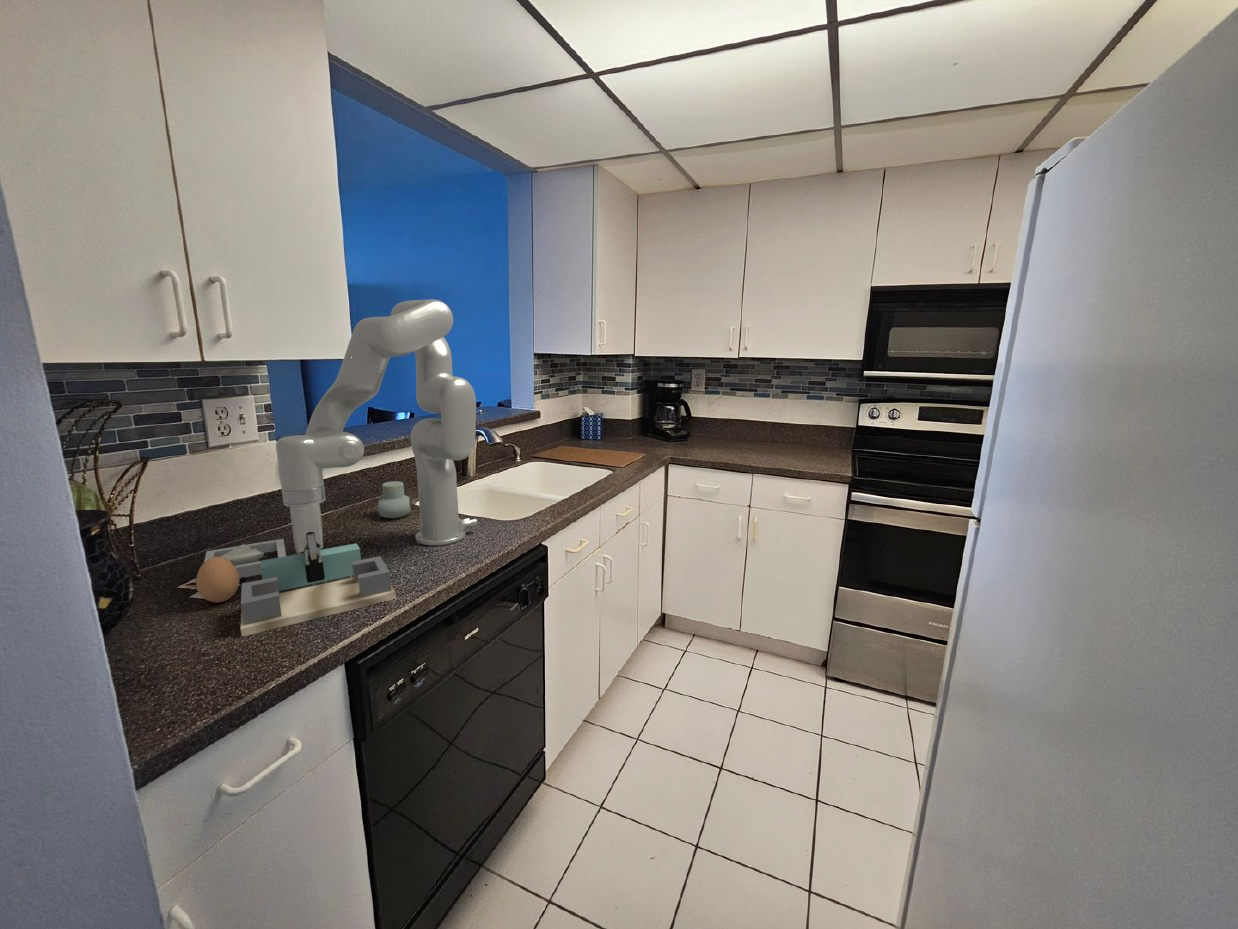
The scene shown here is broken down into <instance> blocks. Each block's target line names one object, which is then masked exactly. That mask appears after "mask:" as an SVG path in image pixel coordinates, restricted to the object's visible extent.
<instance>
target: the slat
mask: <svg viewBox="0 0 1238 929" xmlns="http://www.w3.org/2000/svg"><path fill="white" fill-rule="evenodd" d="M360 548H361V547H359V545H358V543H351V544H346V545H339V546H335V547H329V548H324V549H323V548H322V549H321V550H320V554H321V560H322V561H323V567H324V576H325V579H324V580H320V581H315V582H311V583H308V582H307V578H306V570H305V564H306V559H305V553H302V552H300V554H298V553H296V554H291V555H286V556H284V557H279V558H278V557H273V558H269V559H262V560H260V561H261V572H262V574H261V580H262V579H268V578H273V577H277V581H278V588H279V592H281V591H285V590H291V589H294V588H299V587H304V586H305V587H306V586H309V585H315V584H319V583H323V582H324V583H325V582H328V581H333V580H337V579H343V578H346V577H351V576H352V577H353V570H352V562H353V561H358V560H362V557H361V556H362V555H361V549H360ZM308 555H310V553H308Z"/></svg>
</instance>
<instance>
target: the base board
mask: <svg viewBox="0 0 1238 929" xmlns="http://www.w3.org/2000/svg"><path fill="white" fill-rule="evenodd" d="M279 595H280V607H281V614H282V616H281V617H277V618H273V619H268V620H264V621H260V622H256V623H251V624H247V625H244V621H243V615H242V609H241V611H240V612H241V613H240V634H241V637H242V638H243V637H247V636H252V635H256V634H260V633H264V632H267V631H268V632H269V631H271V630H277V629H280V628H284V627H288V626H291V625H296V624H300V623H301V624H302V623H304V622H308V621H311V620H312V621H313V620H317V619H322V618H325V617H328V616H329V617H330V616H333V615H337V614H340V613H344V612H350V611H354V610H356V609H361V608H365V607H370V606H373V605H378V604H381V603H380V602H382V603H385V602H384V601H386V602H389V601H390V602H391V601H394V600H393V599H395V600H397V594H396V590H395V588H394V587H393V586H392V584H391V591H387V592H383V593H379V594H375V595H370V596H366V597H362V598H361V596H360V593H359V584H358V583H355V582H354V579H353V577H349V578H346V579H345V578H344V579H340V580H336V581H335V580H334V581H330V582H327V583H326V582H324V583H321V584H317V585H312V586H307V587H303V588H298V589H293V590H289V591H284V592H279ZM377 603H378V604H377Z"/></svg>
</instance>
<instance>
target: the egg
mask: <svg viewBox="0 0 1238 929" xmlns="http://www.w3.org/2000/svg"><path fill="white" fill-rule="evenodd" d="M195 578H196V579H195V584H196V589H197V591H198V593H199V595H200V596H201V598H203V599H204V600H207V601H208V602H211V603H215V604H216V603H223V602H226V601H228V600H229V599H230V598H232V597H233V596H234V595H235V594H236V592H237V590H238V589H239V587H240V586H239V585H240V582H241V580H240V578H239V573H238V571H237V569H236V568H235V566H234V565H233V564H232V563H231V562H230V561H229V560H227V559H225V558H222V557H213V558H210V559H208V560H207V561H205V562H204V561H203V563H202V564H201V566H200V568H198V572H197V574H196V577H195Z"/></svg>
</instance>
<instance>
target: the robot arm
mask: <svg viewBox="0 0 1238 929" xmlns="http://www.w3.org/2000/svg"><path fill="white" fill-rule="evenodd" d="M453 325H454V316H453V312H452V310H451V308H450V307H449V306H448V304H446V303H444V302H443V301H441V300H438V299H434V298H433V299H431V298H430V299H417V300H416V299H414V300H406V301H402V302H398V303H397V304H395V305H394V306H393V307H392V310H391V312H390V315H388V316H387V315H386V316H373V317H371V316H370V317H366V318H363V319H361V320H359V321H358V322H357V324H355V326H354V329H353V331H352V334H351V337H350V339H349V342H348V345H347V349H346V351H345V353H344V357H343V360H342V363H341V365H340V367H339V370H338V374H337V377H336V379H335V381H334V382H333V384H331V386H330V387H329V388H328V389H327V391H326V392H325V393H324V395H323V396H322V397H321V399H320V400H319V401H318V403H317V405H316V406H315V408H314V410H313V412H312V414H311V417H310V420H309V422H308V425H307V428H306V431H305V434H298V435H296V434H293V435H288V436H282V437H281V438H279V439H278V440H276V444H275V448H276V449H275V450H276V458H277V464H278V472H279V479H280V487H281V494H282V501H283V503H282V504H283V506H286V507H289V512H290V514H289V515H290V522H291V524H290V525H291V529H292V538H293V543H294V545H293V546H294V549H295V552H296V554H301V553H305V559H306V564H305V570H306V578H307V582H308V583H311V582H315V581H320V580H324V579H325V576H324V567H323V561H322V560H321V554H320V550H323V548H324V538H323V536H324V534H323V523H322V522H323V521H322V512H321V503H324V502H325V501H326V500H327V498H326V491H325V482H324V473H323V469H329V468H331V469H332V468H347V467H352V466H354V465H355V464H357V463H359V462H360V461H361V460H362V458H363V456H364V453H365V447H364V443H363V442H362V440H361V439H360V438H359V437H357V436H356V435H354V434H353V433H350V432H345V431H344V428H345V426H346V424H347V422H348V420H349V418H350V416H351V415H352V414H353V412H354V411H356V409H358V408H359V407H361V406H362V405H363V404H365V403H367V402H369V401H370V400H372V399H373V398H374V397H375V396H376V395H378V393H379V391H380V388H381V385H382V382H383V379H384V376H385V373H386V370H387V366H388V363H389V361H390V358H391V357H393V358H394V357H398V358H399V357H402V356H406V355H409V354H411V353H414V356H415V398H416V402H417V404H418V408H420V409H421V410H422V411H424V412H427V413H430V414H437V415H441V416H440V417H441V418H424V419H421V420H419V421H418V422H417V423H415V424H414V426H413V427H412V429H411V432H410V438H409V440H410V445H411V449H412V453H413V457H414V460H415V461H414V462H415V466H416V476H417V477H416V478H417V491H418V492H417V493H418V504H419V505H418V506H419V516H420V531H418V532H417V533H416V534H415V538H414V539H415V541H416V543H418V544H421V545H425V546H444V545H450V544H453V543H457V542H459V541H461V540H463V539H464V538H466V532H467V531H466V529H467V528H470V527H471V528H472V527H476V526H478V520H477V518H473V519H470V518H463V519H462V518H460V516H459V515H460V514H459V499H458V486H457V470H456V465H455V462H454V461H461V460H464V459H467V457H470V455H471V453H472V452H473V450H474V448H475V443H476V435H477V434H476V432H477V429H476V427H477V424H476V423H477V398H476V393H475V390H474V388H473V386H472V384H471V383H470V382H469V381H468V380H466V379H465V378H463V377H460V376H455V375H454V374H453V359H452V358H453V357H452V351H451V347H450V346H449V344H448V341H447V339H446V338H445V337H446V336H447V335H448V334H449V333H450V331H451V330H452V328H453ZM351 357H352V358H351ZM453 375H454V376H453ZM308 553H310V555H308Z"/></svg>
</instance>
